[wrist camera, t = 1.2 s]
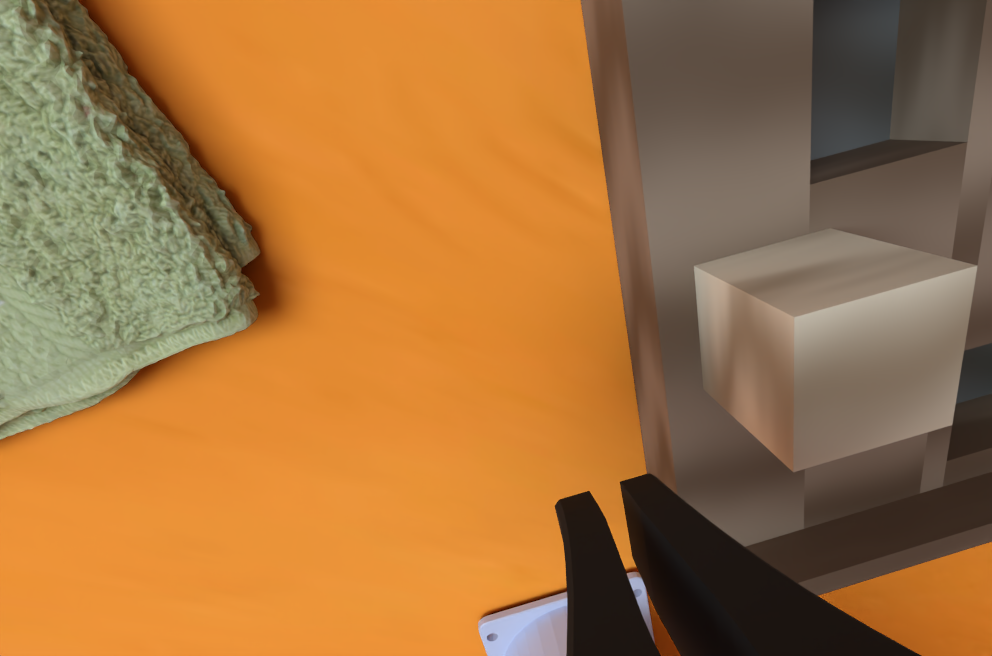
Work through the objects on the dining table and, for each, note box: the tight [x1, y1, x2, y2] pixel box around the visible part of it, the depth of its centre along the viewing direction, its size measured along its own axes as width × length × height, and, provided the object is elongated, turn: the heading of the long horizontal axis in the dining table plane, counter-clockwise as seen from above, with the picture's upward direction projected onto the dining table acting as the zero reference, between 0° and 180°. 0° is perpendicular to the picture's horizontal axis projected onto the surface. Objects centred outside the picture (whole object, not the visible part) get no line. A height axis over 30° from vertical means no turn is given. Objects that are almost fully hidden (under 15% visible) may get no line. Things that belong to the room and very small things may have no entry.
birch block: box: [694, 228, 977, 472], centre depth 14 cm, size 4×4×4 cm
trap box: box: [581, 0, 992, 596], centre depth 17 cm, size 22×23×6 cm
